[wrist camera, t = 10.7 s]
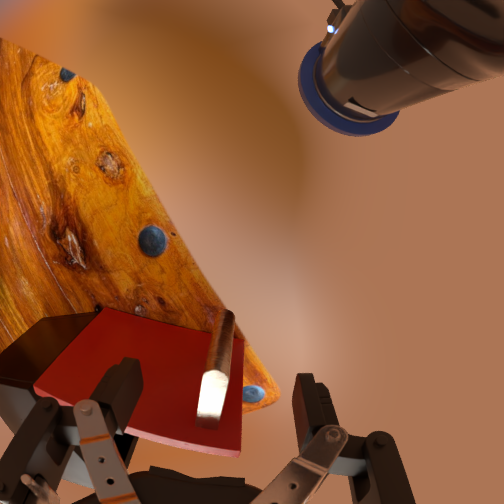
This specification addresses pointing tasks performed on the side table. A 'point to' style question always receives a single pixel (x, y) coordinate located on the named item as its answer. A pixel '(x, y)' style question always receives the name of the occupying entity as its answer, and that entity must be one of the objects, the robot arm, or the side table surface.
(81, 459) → the dark brown cabinet
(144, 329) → the door
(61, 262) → the side table surface
